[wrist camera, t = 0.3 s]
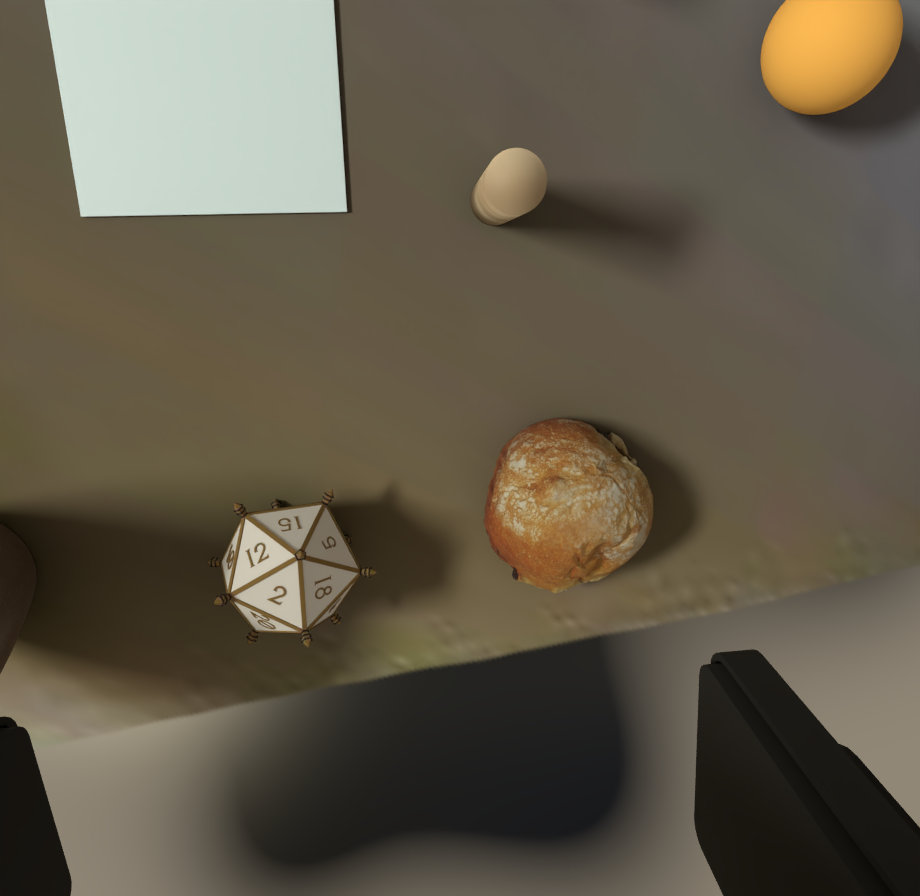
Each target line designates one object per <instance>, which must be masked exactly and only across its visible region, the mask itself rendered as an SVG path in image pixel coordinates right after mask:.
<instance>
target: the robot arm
mask: <svg viewBox="0 0 920 896" xmlns="http://www.w3.org/2000/svg"><path fill="white" fill-rule="evenodd" d="M694 821H695V829H696V833H697V837H698V841H699V844H700V846H701V849H702V851H703V853H704V855H705V857H706V859H707V862H708V864H709V866H710V868H711V870H712V872H713V875H714V877H715V879H716V881H717V883H718V885H719V887H720V889H721V892H722V894H723V895H724V896H920V828H919V826H917V824H916V823H915V822H914V821H913V819H912V818H911V817H910V816H909V815H908V814H907V813H906V812H905V810H904V809H903V808H902V807H901V806H900V805H899V803H898V802H897V801H896V800H895V799H894V798H893V797H892V795H891V794H890V793H889V792H888V791H887V790H886V789H885V788H884V786H883V785H882V784H881V783H880V782H879V780H878V779H877V778H876V777H875V776H874V775H873V774H872V772H871V771H870V770H869V769H868V768H867V767H866V766H865V764H863V762H862V761H861V760H860V759H859V758H858V756H856V755H855V754H854V753H853V752H852V751H851V750H850V749H849V748H848V747H845V746H843V745H841V744H838V743H837V742H836V740H835V739H834V738H833V737H832V736H831V735H830V733H829V732H828V731H827V730H826V729H825V728H824V726H823V725H822V724H821V723H820V722H819V720H818V719H817V718H816V717H815V716H814V715H813V713H812V712H811V711H810V710H809V709H808V708H807V707H806V705H805V704H804V703H803V702H802V701H801V699H800V698H799V697H798V696H797V695H796V694H795V692H794V691H793V690H792V689H791V688H790V687H789V685H788V684H787V683H786V682H785V681H784V680H783V678H782V677H781V676H780V675H779V674H778V672H777V671H776V670H775V669H774V668H773V667H772V665H771V664H770V663H769V662H768V661H767V660H766V658H765V657H764V656H763V655H762V654H761V653H760V652H759V651H757V650H742V651H732V652H720V653H715V654H714V655H713V656H712V659H711V664H708V665H703V666H701V669H700V675H699V700H698V728H697V756H696V785H695V812H694ZM71 883H72V882H71V876H70V873H69V869H68V866H67V863H66V859H65V856H64V852H63V849H62V846H61V842H60V839H59V835H58V832H57V828H56V825H55V822H54V818H53V815H52V811H51V808H50V805H49V801H48V798H47V795H46V791H45V788H44V784H43V781H42V777H41V774H40V770H39V767H38V764H37V761H36V757H35V753H34V750H33V747H32V743H31V740H30V736H29V734H28V732H27V730H26V729H25V728H24V727H18V726H17V724H16V722H15V721H14V720H13V719H12V718H9V717H0V896H70V894H71Z"/></svg>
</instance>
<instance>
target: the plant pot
mask: <svg viewBox="0 0 920 896" xmlns="http://www.w3.org/2000/svg"><path fill="white" fill-rule="evenodd" d="M36 583H37V573H36V567H35V563H34V560H33V557H32V555H31V553H30V551H29V550H28V548H27V547H26V545H25V544H24V543H23V541H22V540H21V539H20V538H19V537H18V536H17V535H16V534H15V533H14V532H12V531H11V530H10V529H9V528H7V527H6V526H4V525H2V524H1V523H0V673H1V672H2V670H3V668H4V666H5V664H6V662H7V660H8V658H9V656H10V654H11V651H12V649H13V647H14V645H15V643H16V640H17V638H18V636H19V633H20V631H21V629H22V627H23V624H24V621H25V619H26V616H27V613H28V611H29V608H30V605H31V602H32V599H33V596H34V593H35V589H36Z"/></svg>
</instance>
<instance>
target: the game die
mask: <svg viewBox="0 0 920 896" xmlns="http://www.w3.org/2000/svg"><path fill="white" fill-rule="evenodd" d="M332 498H334V497H333V489H332V490H330V491H328V492H326V493H325V495H324V496H323V501H322V502H319V503H312V504H305V505H298V506H291V507H284V508H281V505H280V504H281V502H279V501H277V500H275V499H274V501H273V503H271V505H272V508H273V509H270V510H263V511H256V512H249V513H247V512H246V511H245V510H246V509H245V507H243V505H242V504H237V503H234V512H236V513H237V515H240V516H241V517H242V519H241V521H240V523H239V525H238V527H237V529H236V531H235V533H234V535H233V537H232V539H231V541H230V543H229V546H228V548H227V550H226V552H225V554H224V556H223V558H222V560H220V559H218V558H214V557H213V558H212V559H211V560H209V561H207V563H208V564H209V565H210V566H211V567H214V566H215V567H218V566H221V569H222V574H223V579H224V583H225V588H226V593H227V594H226V595H225V594H221V596H216V597H217V598H216V600H215V602H214V604H216V605H220V606H223V604H226V603H227V602H228V601H229V600H230V601H231V603H232V604H233V605H234V606H235V608H236V609H237V610H238V611H239V613H240V614H241V615H242V616H243V618H244V619H245V620H246V621H247V622H248V624H249V625H250V626H251V627H252V629H253V631H252V632H250V633H249V636H247V638H248V645H249V644H251V643H253V642H256V638H258V633H259V632H275V633H302V637H301V639H302V642H301V643H304V644H305V645H306V646H307V647H309V646H310V643H311V641H313V640H312V638H311V635H310V633H308V632H309V630H311V629H313V628H314V627H316V626H317V625H319V624H320V623H322V622H323V621H325V620H327V619H328V618H330V619H331V621H332V622H333V624H334V625H335V624H339V625H340V619H341V617H339V616H338V614H335V612H336V610H337V609H338V607H339V606H340V604H341V603H342V601H343V600H344V599H345V597H346V596H347V594H348V593H349V591H350V590H351V588H352V587H353V585H354V584H355V583H356V581H357V580H358V578H359V577H360V575H364V576H365V577H366V576H368V577H369V578H370V577H371V576H372V575H374V574H376V573H377V572H376V571H374V570H373V569H372V567H370V568H367V567H366V568H365V569H362V568H361V567H360V565H359V563H358V561H357V559H356V557H355V555H354V554H353V552H352V550H351V548H350V546H349V544H350V543H351V540H352V537H349V536H348V535H346V536H345V537H344V535H343V533H342V531H341V529H340V527H339V525H338V523H337V522H336V520H335V518H334V516H333V514H332V512H331V510H330V508H329V507H328V503H329V502H331V501H332Z"/></svg>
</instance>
